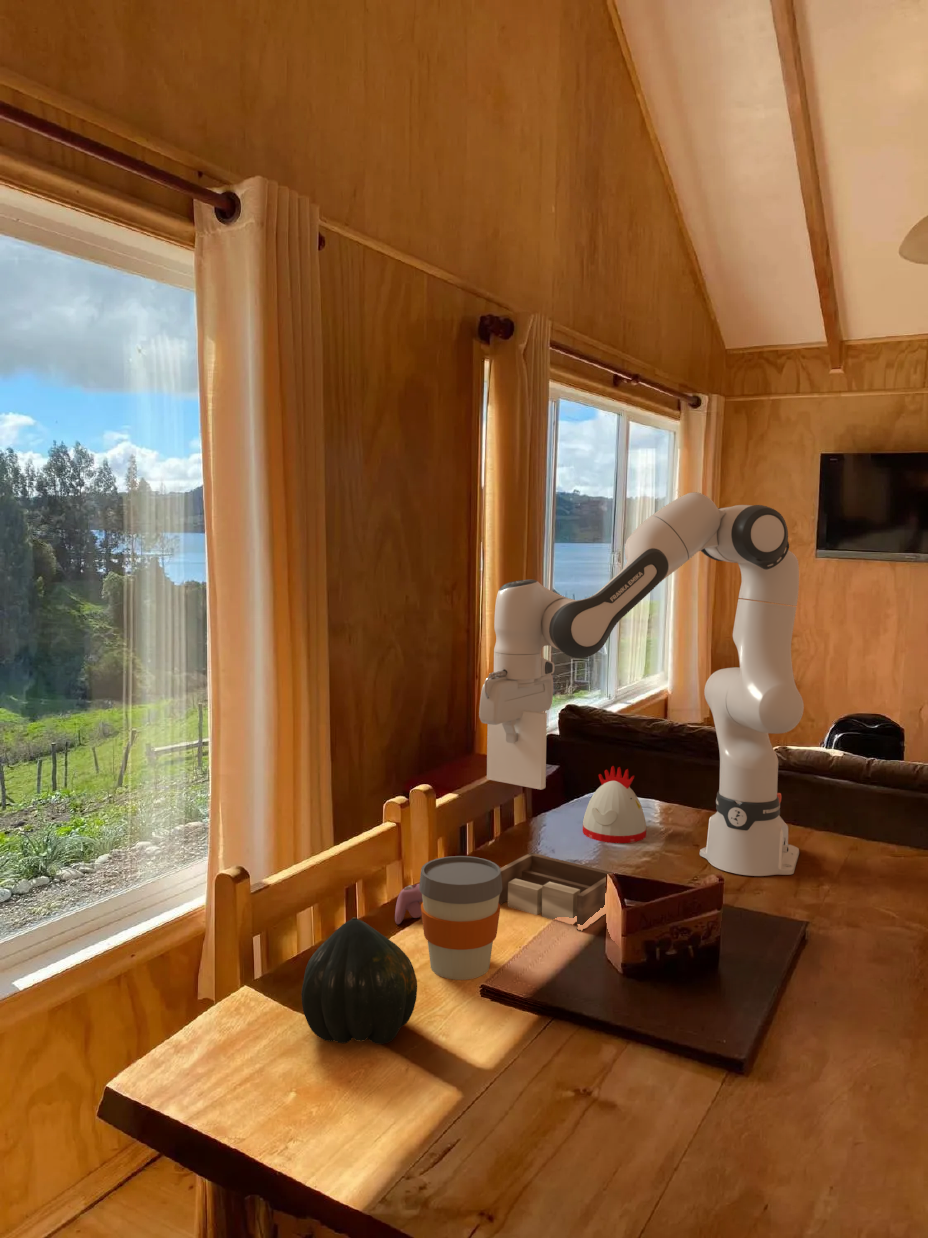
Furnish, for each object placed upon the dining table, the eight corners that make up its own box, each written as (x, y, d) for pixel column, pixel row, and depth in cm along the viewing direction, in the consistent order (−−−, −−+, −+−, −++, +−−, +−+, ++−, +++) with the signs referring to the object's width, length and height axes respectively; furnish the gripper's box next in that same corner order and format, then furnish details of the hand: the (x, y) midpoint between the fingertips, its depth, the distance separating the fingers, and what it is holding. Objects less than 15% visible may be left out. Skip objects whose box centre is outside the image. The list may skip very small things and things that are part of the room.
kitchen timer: (630, 847, 194) (632, 778, 193) (572, 835, 201) (573, 768, 200) (655, 830, 206) (657, 764, 204) (598, 820, 213) (600, 756, 212)
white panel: (491, 777, 176) (492, 705, 175) (545, 787, 169) (546, 712, 168) (486, 779, 175) (487, 706, 174) (540, 789, 168) (542, 714, 167)
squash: (376, 1040, 108) (407, 916, 117) (266, 1021, 114) (304, 903, 122) (414, 1069, 119) (440, 953, 128) (312, 1050, 124) (344, 940, 133)
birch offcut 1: (514, 903, 164) (515, 878, 164) (544, 911, 160) (544, 886, 160) (507, 907, 162) (508, 882, 162) (536, 915, 158) (537, 890, 158)
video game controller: (453, 928, 156) (455, 885, 159) (451, 926, 152) (453, 883, 155) (396, 925, 157) (399, 883, 160) (392, 924, 153) (395, 880, 156)
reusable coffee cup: (513, 957, 142) (515, 863, 141) (481, 993, 131) (482, 891, 130) (441, 941, 148) (441, 850, 146) (403, 974, 136) (404, 876, 135)
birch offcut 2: (548, 912, 160) (549, 881, 159) (579, 921, 156) (580, 889, 156) (541, 916, 158) (542, 885, 157) (572, 925, 154) (573, 894, 154)
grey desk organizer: (530, 883, 173) (530, 852, 172) (617, 906, 162) (618, 873, 162) (491, 905, 162) (492, 872, 162) (582, 931, 152) (582, 896, 151)
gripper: (500, 675, 160) (499, 753, 161) (559, 663, 177) (558, 734, 178) (471, 672, 164) (470, 748, 165) (531, 660, 180) (530, 729, 181)
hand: (516, 740), depth 171 cm, fingers closed on white panel, 2 cm apart
